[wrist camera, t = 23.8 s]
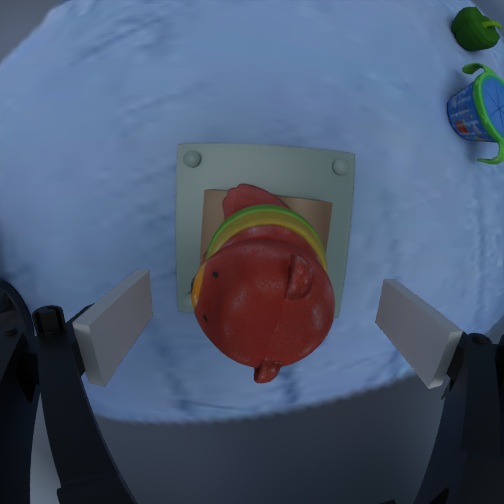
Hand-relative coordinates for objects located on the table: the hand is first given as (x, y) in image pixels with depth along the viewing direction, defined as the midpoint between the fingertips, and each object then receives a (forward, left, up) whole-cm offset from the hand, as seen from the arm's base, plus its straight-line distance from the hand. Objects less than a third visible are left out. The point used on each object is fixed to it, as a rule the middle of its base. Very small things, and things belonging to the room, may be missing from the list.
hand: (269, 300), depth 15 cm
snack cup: (+31, +21, -22) cm, 43 cm away
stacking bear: (0, 0, -15) cm, 14 cm away
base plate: (0, 0, -21) cm, 21 cm away
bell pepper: (+35, +39, -22) cm, 57 cm away
